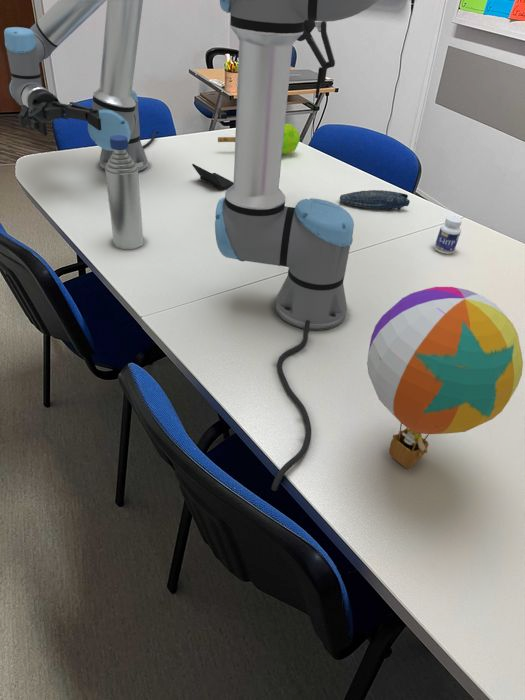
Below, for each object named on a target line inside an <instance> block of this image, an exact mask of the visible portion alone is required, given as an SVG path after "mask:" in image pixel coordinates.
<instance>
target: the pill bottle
mask: <svg viewBox="0 0 525 700" xmlns="http://www.w3.org/2000/svg"><path fill="white" fill-rule="evenodd" d="M462 222H463V219H461V218H460V217H458V216H455V215H448V216H446V218H445V220H444V223H443V224H442V225H440V228H439V231H438V234H437V237H436V240H435V243H434V250H435V251H437V252H439V253H441V254H447V255H449V254H453V253H454V252H455V250H456V247H457V244H458V242H459V239H460V236H461V233H462V229H461V225H462Z"/></svg>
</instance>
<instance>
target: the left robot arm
mask: <svg viewBox="0 0 525 700" xmlns="http://www.w3.org/2000/svg"><path fill="white" fill-rule="evenodd" d="M105 2H106V11H105V23H104V34H103V46H102V56H101V67H100V80H99V87H98V89H96V90H95V91H93V94H92V102H91V103H92V104H91V107H89V106H85V105H82V104H78V103H75V102H73V101H70V102H69V104H67V103H61V102H60V100H59V99H58V97H57V96H56V95H54V94H53V93H52V92H51V91H49V90H48V89H47V88H45V87H43V82H42V76H41V69H40V67H41V66H40V63H41V62H43V60H46V59H48V58H49V57H50V56H51V55H52V53H53V52H54V51H55V50H56V49H58V47H59V46H60V45H62V43H64V41H65V40H66V39H68V38H69V37H70V36H71V35H72V34H73V33H74V32H75V31H76V30H77V29H78V28H79V27H81V25H82V24H84V22H86V20H88V19H89V18H90V17H91V16H92V15H93V14H95V12H96V11H97V10H98V9H99V8H100V7H102V5H103V4H105ZM143 5H144V0H57V1H56V2H55V3H53V5H52V6H51V7H50V8H49V9H48V10H47V11H46V12H45V13H44V14H43V15H42V16H41V17H40V18H39V19H38V20H37V21H36V22H35V23H34V24H33V25H32V26H30V28H26V27H19V26H13V27H6V28H5V29H4V30H3V34H4V45H5V49H6V55H7V60H8V65H9V71H10V78H11V80H10V82H9V87H8V89H9V93H10V95H11V96H12V98H13V99H14V101H15V102H16V104H18V105H19V106H21V107H20V108H21V110H20V112H19V114H18V122H19V126H20V127H21V128H25V127H26V126H28V130H29V131H35V130H37V131H38V132H39V133H41V134H42V136H48V131H47V130H48V128H47V123H51V122H54V121H55V120H59V119H61V120H62V119H63V120H69V119H73V120H78V121H83V122H87V132H88V134H89V137H90V139H91V140H92V141H93V142H94V143H95V145H97V146H98V147H100V148H101V150H100V155H99V166H100V168H101V169H102V170H104V171H105V167H106V163H107V162H108V160H109V159H110V156H111V155H112V152H114V149H112V148H111V146H110V137H111V136H115V135H122V136H126V137H127V139H128V148H127V149H126V152H128V155H130V156H131V159H133V161H134V162H135V163H136V166H137V168H138V173H140V172H142V171H144V170H146V169H147V168H148V166H149V164H148V157H147V154H146V152H145V148H146V147H148V146H149V145H151V143H152V142H153V141H154V139H155V137H156V136H157V134H159V131H158V130H157V129H155V130H154V132H153V135H152V137H151V138H150V140H149V141H148V142H147V143H144V144H142V141H141V130H140V129H141V128H140V117H139V116H140V115H139V100H138V94H137V93H136V91H134V90H133V84H134V75H135V68H136V59H137V51H138V44H139V36H140V28H141V20H142V12H143Z"/></svg>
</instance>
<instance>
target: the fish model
mask: <svg viewBox="0 0 525 700" xmlns="http://www.w3.org/2000/svg"><path fill="white" fill-rule="evenodd" d="M410 202H411V201H410V200H409V195H408V194H406V193H403V192H402V193H401V192H399V191H392V190H382V189H380V190H379V189H377V190H376V189H368V190H360V191H352V192H348V193H344V194H341V195H340V196H339V203H343V204H346V205H349V206H351V207H357V208H362V209H371V210H372V209H374V210H384V211H385V210H386V211H391V210H394V209H397V210H402V208H404V207H408V206H409V205H410Z"/></svg>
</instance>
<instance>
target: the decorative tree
mask: <svg viewBox="0 0 525 700" xmlns="http://www.w3.org/2000/svg"><path fill="white" fill-rule="evenodd" d="M300 137H301V136H300V132H299V131H298V129H297V128H296V127H295V126H294V125H292V123H285V128H284V138H283V148H282V155H289V154H291V153H293V152H295V151H296V150H297V148H298V145H299V143H300V140H301V138H300ZM217 143H235V136H218V137H217Z"/></svg>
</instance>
